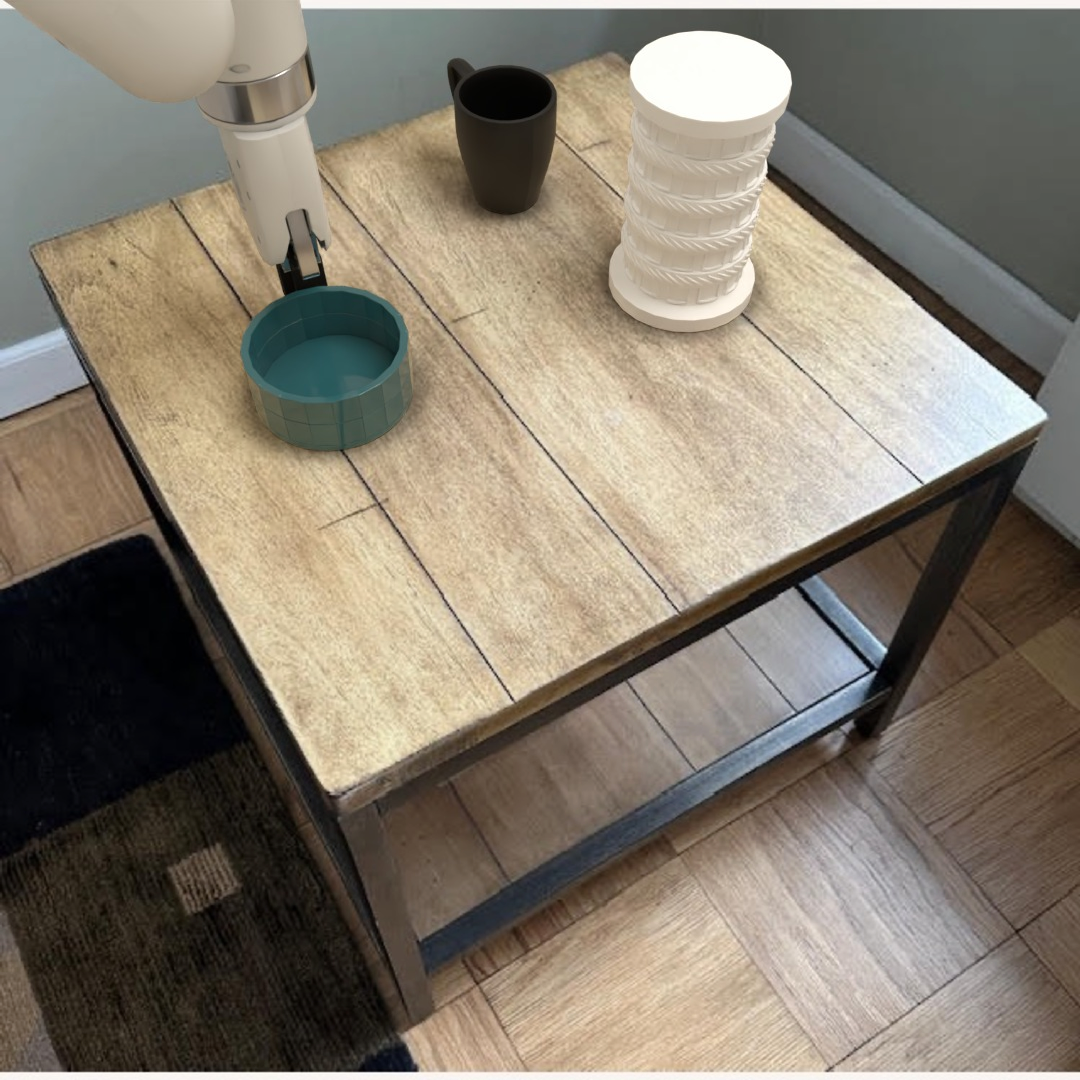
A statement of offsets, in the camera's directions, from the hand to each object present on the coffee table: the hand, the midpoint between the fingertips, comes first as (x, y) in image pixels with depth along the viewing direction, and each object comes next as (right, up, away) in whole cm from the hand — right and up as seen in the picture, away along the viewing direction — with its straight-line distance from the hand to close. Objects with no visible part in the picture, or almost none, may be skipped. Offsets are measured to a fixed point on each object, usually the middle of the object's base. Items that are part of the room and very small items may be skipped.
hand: (307, 296), depth 83 cm
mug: (+14, +13, +12) cm, 22 cm away
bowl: (+3, -7, -2) cm, 8 cm away
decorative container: (+29, +2, +5) cm, 29 cm away
